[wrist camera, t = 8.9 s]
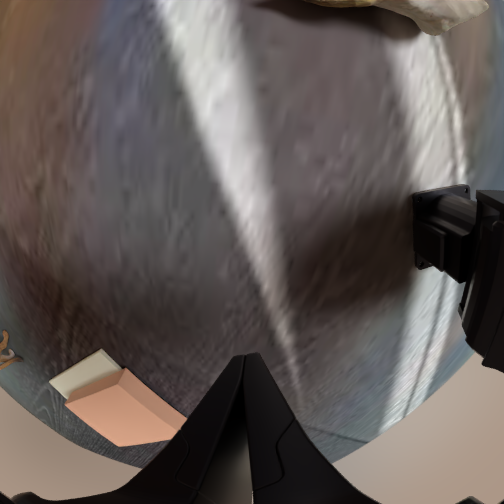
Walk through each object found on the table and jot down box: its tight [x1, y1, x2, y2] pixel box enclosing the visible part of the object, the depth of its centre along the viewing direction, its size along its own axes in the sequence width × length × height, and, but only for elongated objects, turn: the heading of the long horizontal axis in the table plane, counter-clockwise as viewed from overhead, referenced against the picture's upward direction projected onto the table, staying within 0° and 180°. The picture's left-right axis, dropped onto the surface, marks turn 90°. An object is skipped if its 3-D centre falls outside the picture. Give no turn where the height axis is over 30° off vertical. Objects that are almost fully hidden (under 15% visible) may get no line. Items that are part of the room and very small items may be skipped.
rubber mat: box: [49, 348, 122, 399], centre depth 28 cm, size 16×16×1 cm
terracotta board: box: [65, 368, 187, 447], centre depth 26 cm, size 2×10×14 cm
